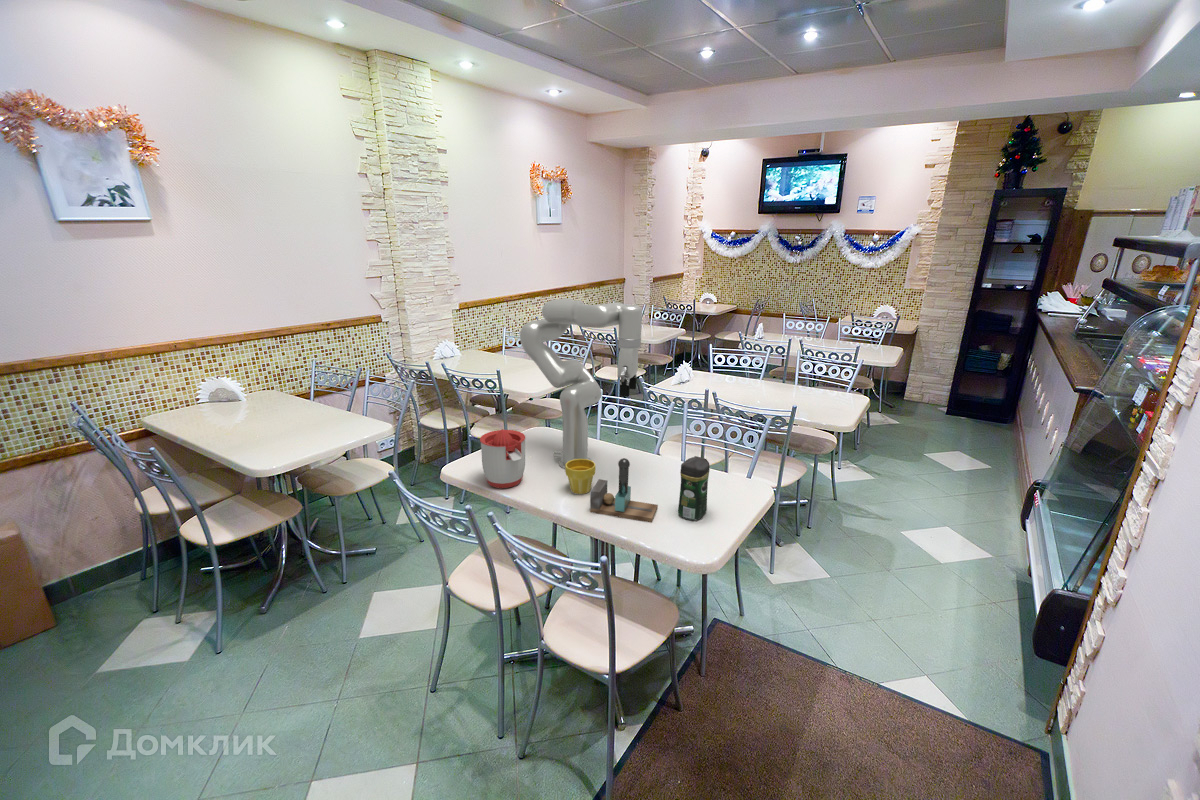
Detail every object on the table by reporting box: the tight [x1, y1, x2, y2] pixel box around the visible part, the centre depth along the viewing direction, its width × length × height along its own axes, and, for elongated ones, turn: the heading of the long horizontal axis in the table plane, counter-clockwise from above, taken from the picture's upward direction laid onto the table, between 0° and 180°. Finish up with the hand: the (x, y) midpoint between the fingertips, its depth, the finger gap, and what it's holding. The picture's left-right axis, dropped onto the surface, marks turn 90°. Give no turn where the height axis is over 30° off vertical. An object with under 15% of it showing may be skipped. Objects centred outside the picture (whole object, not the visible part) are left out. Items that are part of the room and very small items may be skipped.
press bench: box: [589, 478, 659, 523], centre depth 164 cm, size 20×9×8 cm, turn 73°
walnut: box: [603, 492, 615, 504], centre depth 166 cm, size 4×4×4 cm
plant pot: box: [564, 459, 596, 495], centre depth 177 cm, size 10×10×10 cm
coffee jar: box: [677, 455, 711, 521], centre depth 161 cm, size 10×8×19 cm
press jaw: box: [614, 458, 632, 512], centre depth 162 cm, size 4×8×16 cm, turn 163°
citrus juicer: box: [479, 428, 526, 490], centre depth 180 cm, size 16×17×20 cm
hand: (628, 392), depth 176 cm, fingers open, 9 cm apart
